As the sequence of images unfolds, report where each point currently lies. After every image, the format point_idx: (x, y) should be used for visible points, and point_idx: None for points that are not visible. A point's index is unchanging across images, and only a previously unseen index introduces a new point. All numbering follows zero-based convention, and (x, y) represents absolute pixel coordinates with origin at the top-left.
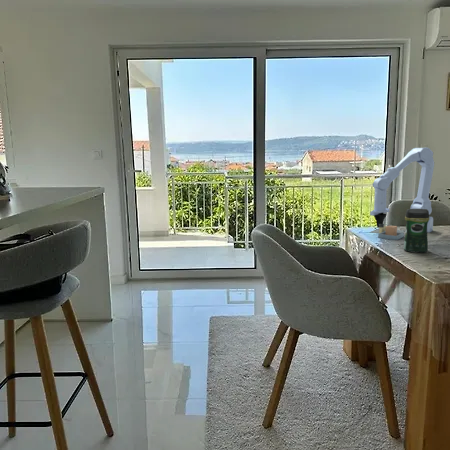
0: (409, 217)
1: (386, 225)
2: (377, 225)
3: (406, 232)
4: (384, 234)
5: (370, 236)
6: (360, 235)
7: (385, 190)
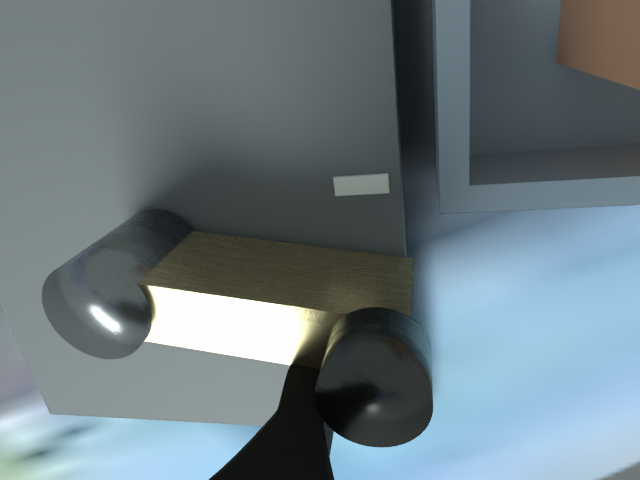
0: None
1: (151, 327)
2: (329, 447)
3: None
4: (551, 161)
5: (549, 356)
6: (555, 473)
7: None
